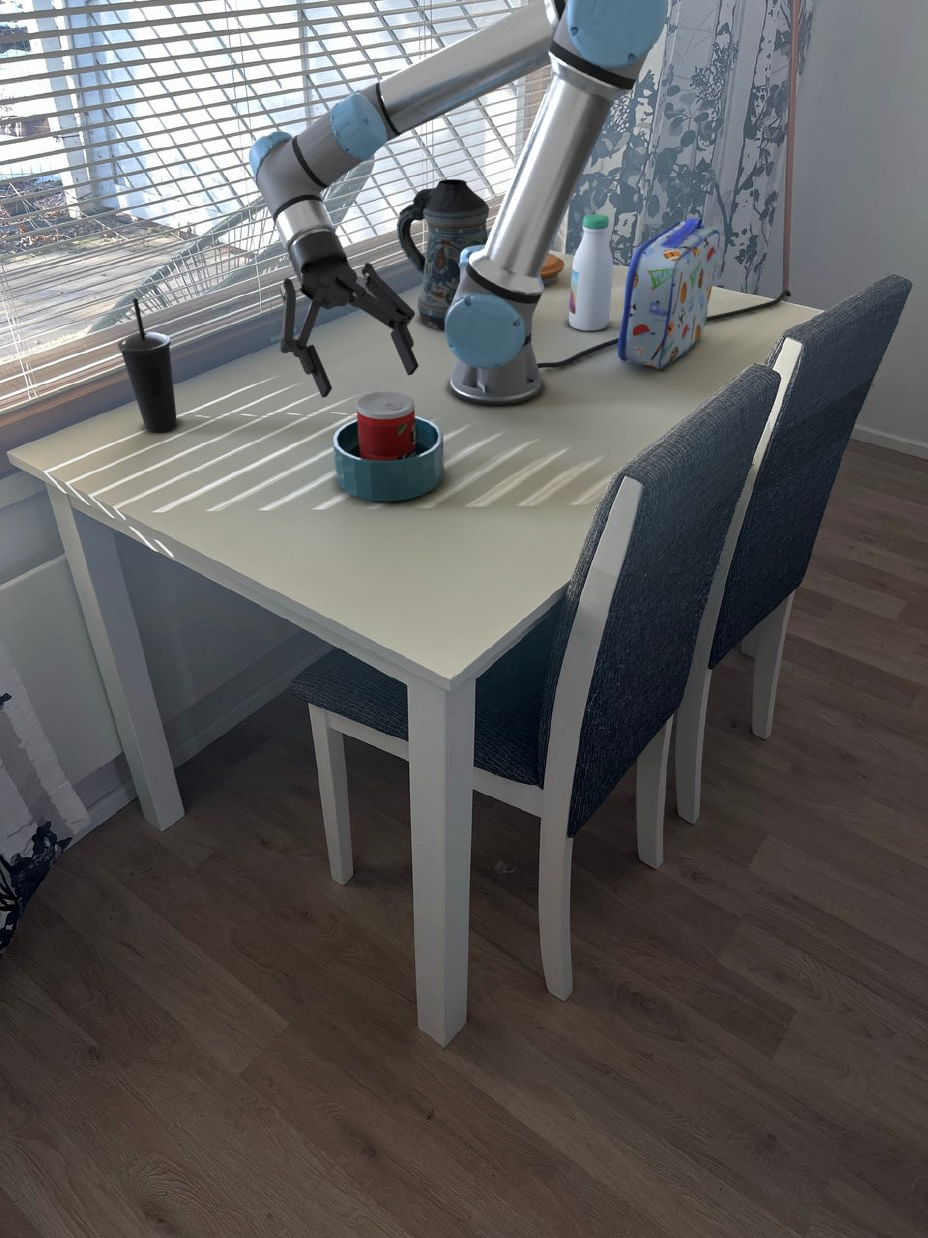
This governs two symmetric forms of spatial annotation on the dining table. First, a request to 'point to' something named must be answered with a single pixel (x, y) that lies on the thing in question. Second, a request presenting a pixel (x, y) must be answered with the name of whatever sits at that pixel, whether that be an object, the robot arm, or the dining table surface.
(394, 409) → the canned food
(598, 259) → the milk bottle
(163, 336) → the drinking cup
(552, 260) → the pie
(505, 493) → the dining table surface
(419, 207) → the beer stein
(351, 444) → the teal pet bowl
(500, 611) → the dining table surface
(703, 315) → the lunch box
